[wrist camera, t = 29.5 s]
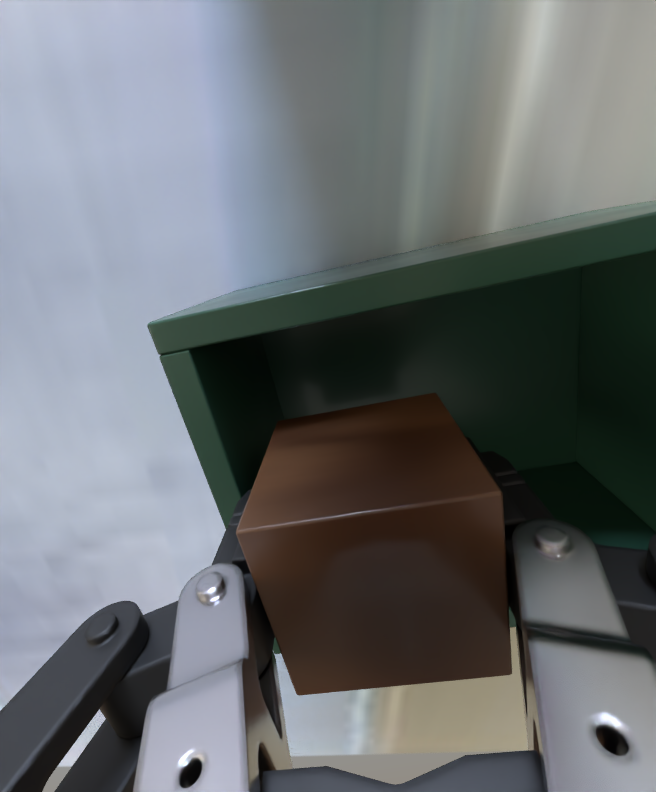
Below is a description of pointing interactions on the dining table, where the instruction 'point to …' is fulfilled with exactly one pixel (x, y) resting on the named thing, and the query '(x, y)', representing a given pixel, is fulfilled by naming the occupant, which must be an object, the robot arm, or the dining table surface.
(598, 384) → the tea tin
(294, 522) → the walnut block
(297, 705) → the dining table surface
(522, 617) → the robot arm
